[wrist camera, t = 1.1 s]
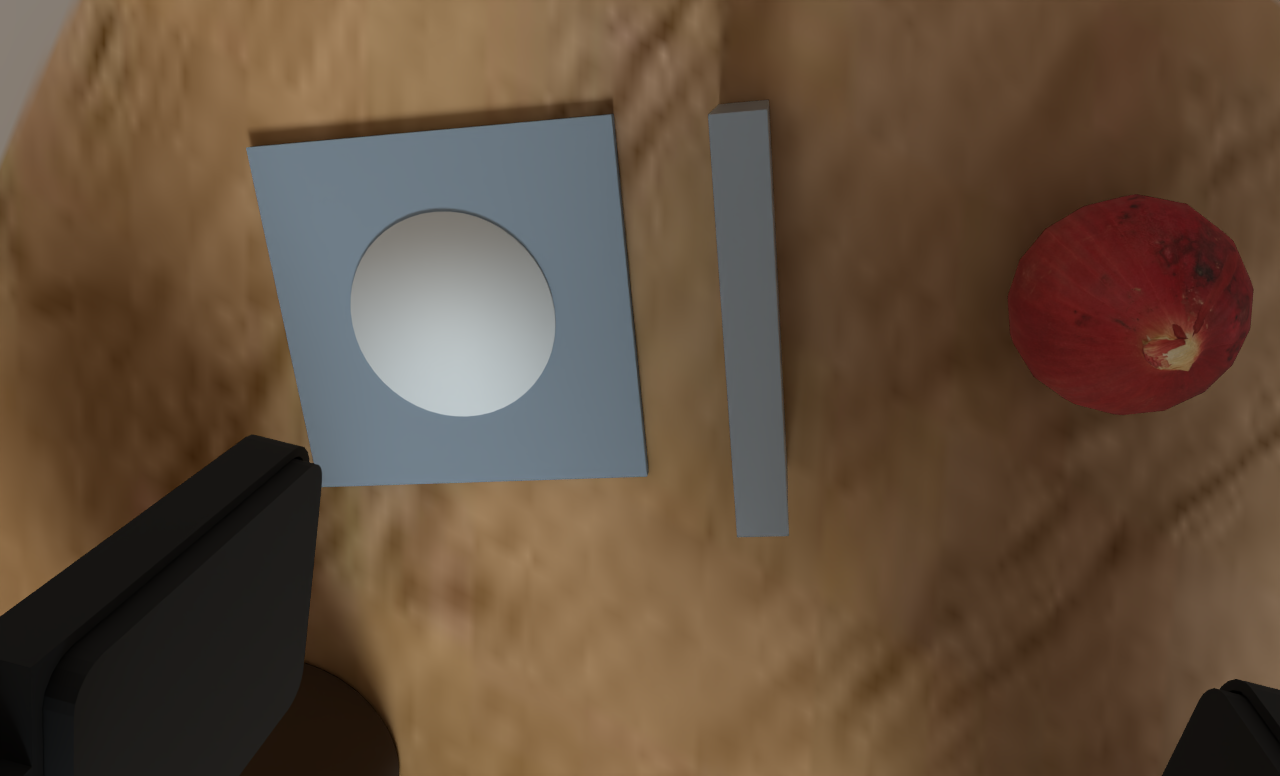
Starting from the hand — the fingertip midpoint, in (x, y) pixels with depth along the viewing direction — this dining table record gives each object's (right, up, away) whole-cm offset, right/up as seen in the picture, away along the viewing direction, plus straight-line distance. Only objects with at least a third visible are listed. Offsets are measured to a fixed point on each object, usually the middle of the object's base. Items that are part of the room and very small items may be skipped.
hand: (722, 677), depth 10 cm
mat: (-7, +6, +23) cm, 24 cm away
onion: (+13, +7, +20) cm, 24 cm away
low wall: (+3, +6, +21) cm, 22 cm away
